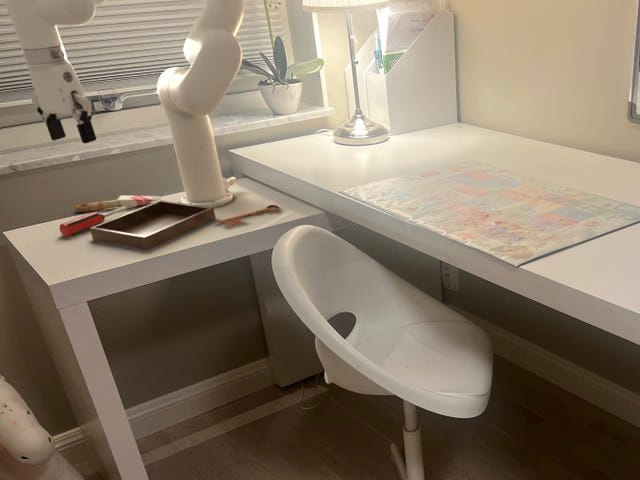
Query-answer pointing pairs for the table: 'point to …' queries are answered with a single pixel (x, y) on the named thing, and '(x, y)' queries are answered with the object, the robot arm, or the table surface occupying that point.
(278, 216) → the table surface
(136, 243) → the wooden tray
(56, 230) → the table surface
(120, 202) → the paintbrush
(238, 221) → the key
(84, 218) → the screwdriver
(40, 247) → the table surface
